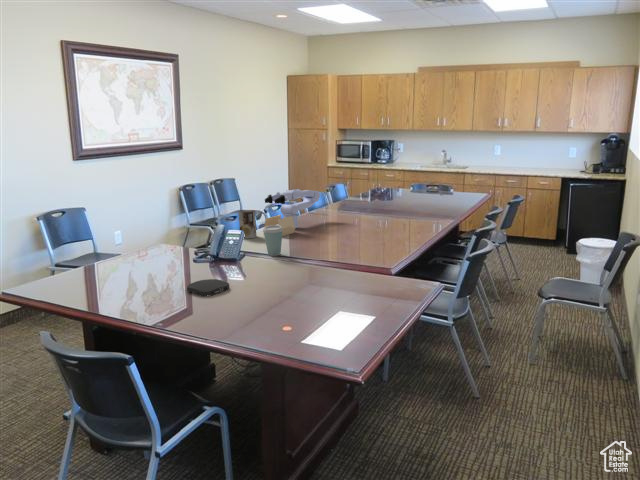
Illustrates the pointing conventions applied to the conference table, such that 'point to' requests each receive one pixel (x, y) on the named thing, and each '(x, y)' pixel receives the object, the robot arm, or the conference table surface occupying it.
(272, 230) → the disposable coffee cup
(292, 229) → the carton
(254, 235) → the coffee box
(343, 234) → the conference table surface
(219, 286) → the media streaming box
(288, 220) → the flap
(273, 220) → the flap
